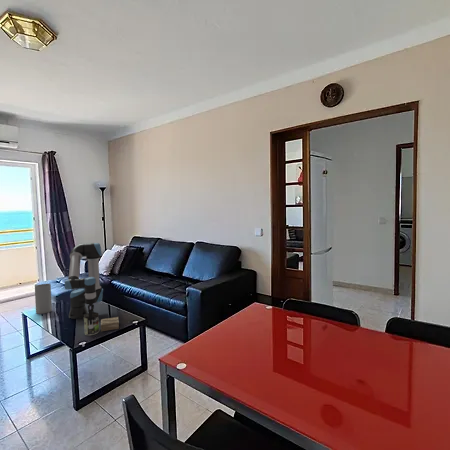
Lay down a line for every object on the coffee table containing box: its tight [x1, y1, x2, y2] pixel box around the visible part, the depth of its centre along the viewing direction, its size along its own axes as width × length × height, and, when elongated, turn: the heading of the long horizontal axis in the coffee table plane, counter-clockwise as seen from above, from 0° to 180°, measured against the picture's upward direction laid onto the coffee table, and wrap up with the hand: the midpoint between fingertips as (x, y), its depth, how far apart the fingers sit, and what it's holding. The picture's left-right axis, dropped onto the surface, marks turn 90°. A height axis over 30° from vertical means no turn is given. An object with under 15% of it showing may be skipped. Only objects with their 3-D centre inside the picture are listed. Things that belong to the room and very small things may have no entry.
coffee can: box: [83, 311, 100, 336], centre depth 221 cm, size 10×10×14 cm
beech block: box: [100, 316, 120, 332], centre depth 232 cm, size 13×13×5 cm
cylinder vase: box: [34, 283, 53, 315], centre depth 268 cm, size 12×12×25 cm
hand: (91, 325), depth 221 cm, fingers open, 13 cm apart
